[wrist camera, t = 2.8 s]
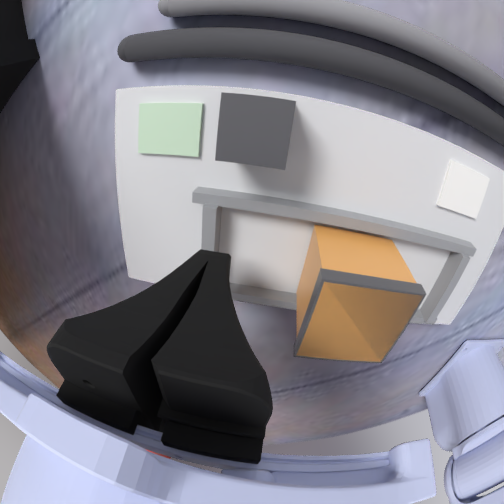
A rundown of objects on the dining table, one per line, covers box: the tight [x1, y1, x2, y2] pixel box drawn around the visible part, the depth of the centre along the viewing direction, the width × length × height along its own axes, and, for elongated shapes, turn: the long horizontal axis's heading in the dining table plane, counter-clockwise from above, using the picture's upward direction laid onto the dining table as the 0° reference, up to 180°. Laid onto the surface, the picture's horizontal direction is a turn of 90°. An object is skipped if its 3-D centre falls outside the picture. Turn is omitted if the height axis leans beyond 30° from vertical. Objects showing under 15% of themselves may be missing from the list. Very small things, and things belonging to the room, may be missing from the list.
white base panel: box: [115, 85, 504, 325], centre depth 12 cm, size 11×22×4 cm, turn 83°
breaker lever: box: [294, 224, 426, 363], centre depth 11 cm, size 4×4×4 cm
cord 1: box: [158, 0, 504, 106], centre depth 8 cm, size 2×22×2 cm, turn 83°
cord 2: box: [118, 27, 504, 146], centre depth 9 cm, size 2×24×2 cm, turn 83°
